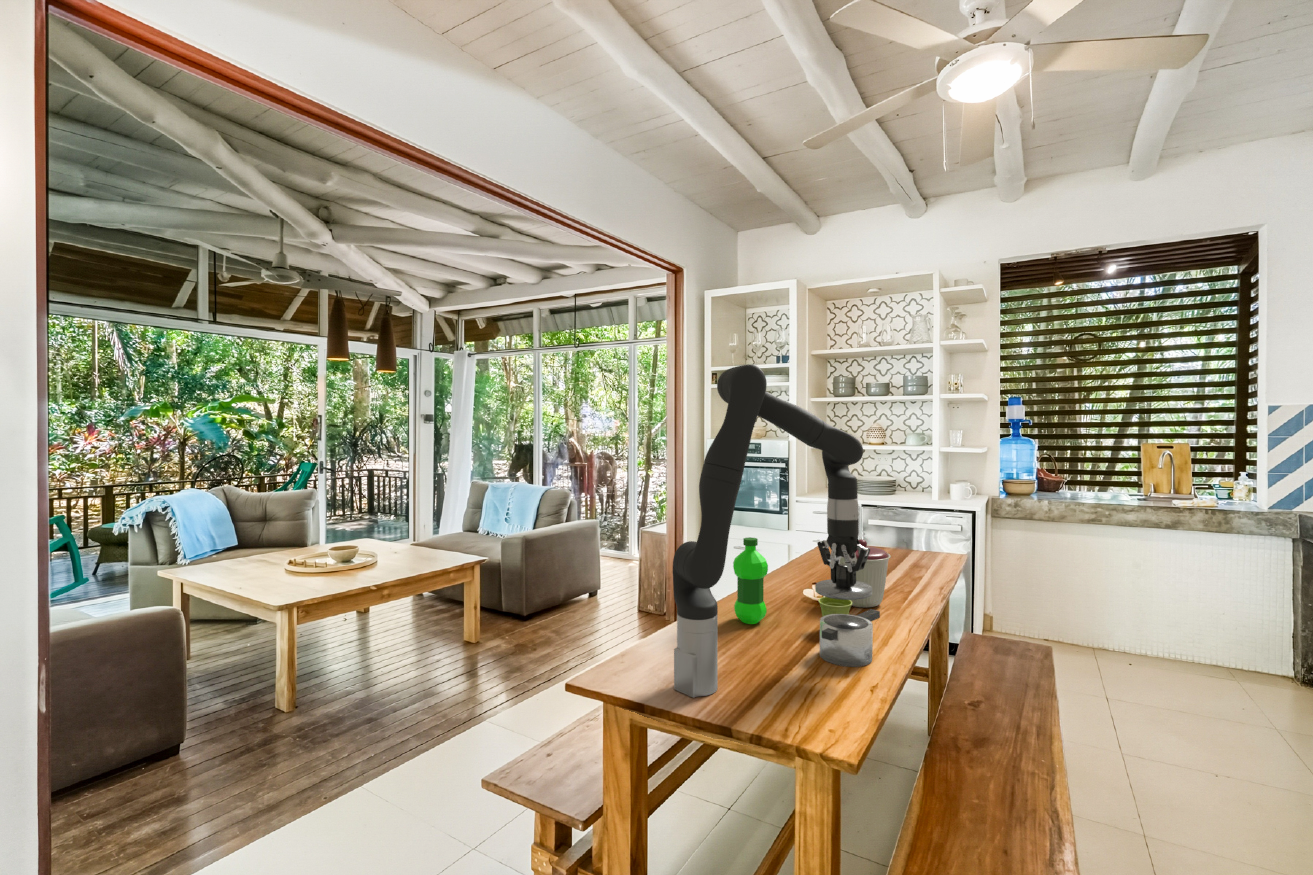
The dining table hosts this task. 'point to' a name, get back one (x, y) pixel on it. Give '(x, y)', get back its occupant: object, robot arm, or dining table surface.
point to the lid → (843, 587)
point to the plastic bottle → (750, 583)
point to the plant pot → (834, 606)
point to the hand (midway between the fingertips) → (843, 584)
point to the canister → (872, 575)
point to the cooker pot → (847, 638)
